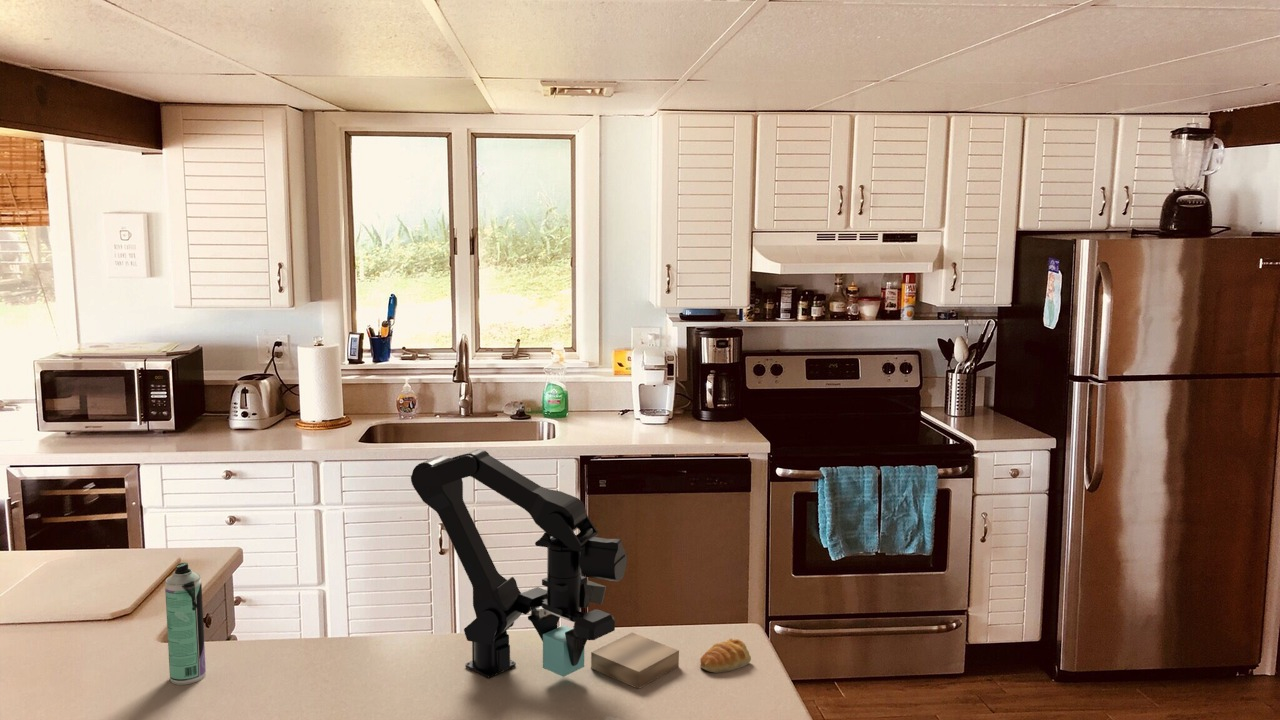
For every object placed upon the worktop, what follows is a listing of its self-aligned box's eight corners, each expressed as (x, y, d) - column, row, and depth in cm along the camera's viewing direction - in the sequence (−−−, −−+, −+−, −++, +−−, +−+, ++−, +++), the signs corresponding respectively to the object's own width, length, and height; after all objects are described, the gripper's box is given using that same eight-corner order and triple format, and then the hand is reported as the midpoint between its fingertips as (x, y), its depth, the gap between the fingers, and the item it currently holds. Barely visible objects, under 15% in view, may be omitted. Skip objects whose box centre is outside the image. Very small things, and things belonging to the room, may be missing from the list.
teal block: (542, 667, 157) (542, 634, 157) (563, 657, 161) (563, 625, 160) (563, 676, 154) (563, 642, 153) (584, 666, 158) (584, 633, 157)
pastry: (717, 680, 160) (718, 659, 159) (690, 666, 165) (690, 646, 164) (753, 664, 166) (754, 644, 165) (726, 651, 171) (726, 632, 170)
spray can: (213, 672, 159) (207, 561, 156) (188, 687, 153) (182, 571, 151) (188, 667, 160) (182, 556, 158) (162, 681, 155) (156, 567, 153)
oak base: (591, 668, 163) (591, 652, 162) (631, 647, 171) (632, 632, 171) (638, 688, 156) (638, 671, 155) (678, 666, 164) (679, 650, 163)
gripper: (637, 573, 156) (635, 661, 158) (559, 548, 167) (558, 629, 170) (591, 592, 147) (591, 684, 149) (513, 563, 159) (513, 649, 161)
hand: (563, 660), depth 157 cm, fingers closed on teal block, 5 cm apart
